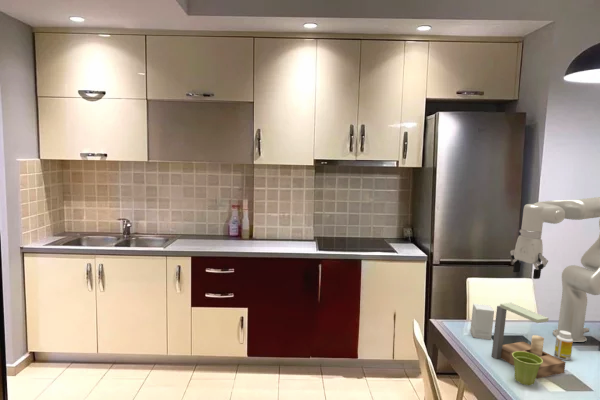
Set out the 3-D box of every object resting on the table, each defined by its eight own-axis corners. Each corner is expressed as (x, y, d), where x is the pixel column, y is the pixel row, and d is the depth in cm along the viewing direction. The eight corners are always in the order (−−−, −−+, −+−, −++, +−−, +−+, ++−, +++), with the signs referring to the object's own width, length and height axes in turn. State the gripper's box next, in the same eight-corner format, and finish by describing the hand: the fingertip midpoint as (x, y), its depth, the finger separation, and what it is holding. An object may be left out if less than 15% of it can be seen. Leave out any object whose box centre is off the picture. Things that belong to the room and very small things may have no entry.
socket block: (522, 351, 180) (523, 341, 180) (564, 372, 164) (565, 362, 164) (496, 355, 175) (497, 345, 174) (536, 378, 158) (538, 367, 158)
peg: (526, 361, 172) (529, 335, 170) (534, 359, 173) (537, 334, 172) (535, 366, 168) (538, 340, 167) (543, 364, 170) (546, 339, 168)
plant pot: (542, 390, 150) (545, 365, 149) (511, 385, 153) (514, 360, 152) (536, 377, 159) (539, 353, 158) (507, 372, 162) (510, 349, 161)
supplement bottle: (573, 359, 175) (577, 334, 174) (564, 361, 173) (567, 336, 172) (560, 353, 180) (563, 328, 179) (550, 355, 178) (554, 330, 177)
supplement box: (491, 340, 189) (494, 311, 188) (472, 337, 191) (475, 308, 189) (487, 333, 197) (490, 305, 195) (469, 330, 198) (472, 303, 197)
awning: (502, 354, 176) (508, 301, 174) (541, 375, 161) (548, 318, 158) (491, 356, 174) (497, 302, 172) (529, 378, 158) (537, 319, 156)
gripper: (507, 230, 191) (502, 270, 193) (543, 239, 176) (538, 282, 178) (519, 230, 194) (515, 269, 196) (556, 238, 179) (551, 280, 181)
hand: (526, 275), depth 187 cm, fingers open, 9 cm apart
